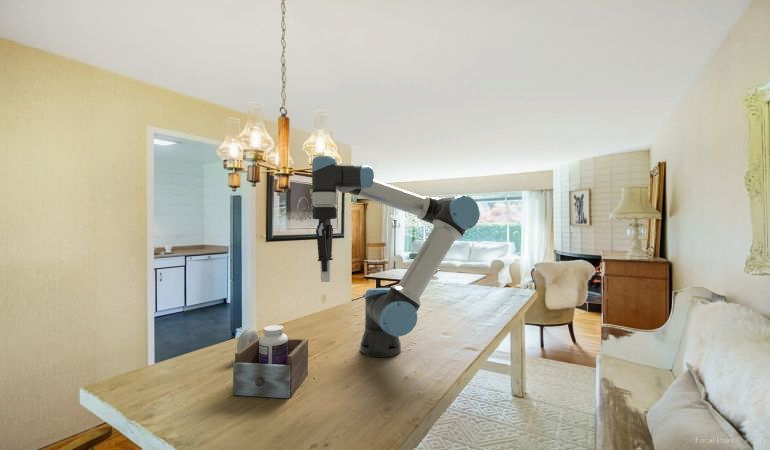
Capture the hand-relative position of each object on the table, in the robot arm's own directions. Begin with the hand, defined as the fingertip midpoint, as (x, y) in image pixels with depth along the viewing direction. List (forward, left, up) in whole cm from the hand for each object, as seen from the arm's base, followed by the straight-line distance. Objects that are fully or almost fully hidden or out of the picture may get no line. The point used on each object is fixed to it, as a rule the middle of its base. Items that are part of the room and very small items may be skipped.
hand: (325, 281), depth 109 cm
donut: (+30, -9, -29) cm, 42 cm away
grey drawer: (+13, +11, -28) cm, 33 cm away
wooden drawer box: (+13, +9, -29) cm, 33 cm away
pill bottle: (+13, +9, -27) cm, 31 cm away
